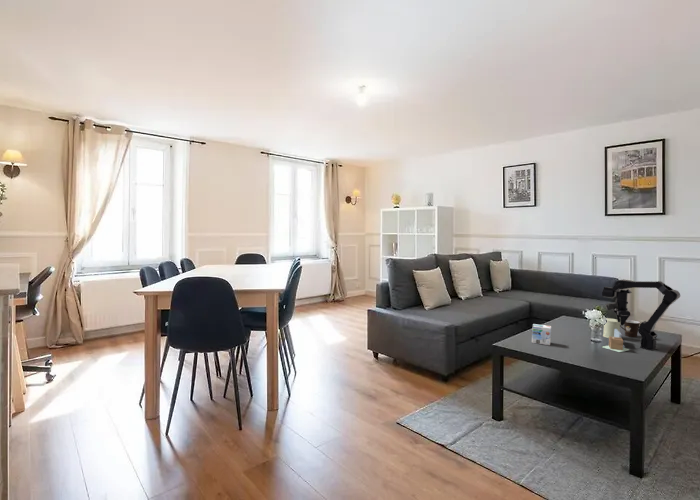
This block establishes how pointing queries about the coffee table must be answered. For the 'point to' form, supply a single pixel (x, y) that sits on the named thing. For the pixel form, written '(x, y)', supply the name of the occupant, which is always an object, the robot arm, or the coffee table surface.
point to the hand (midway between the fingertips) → (620, 323)
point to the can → (611, 327)
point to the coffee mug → (631, 328)
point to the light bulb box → (541, 334)
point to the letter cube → (616, 343)
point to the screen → (618, 335)
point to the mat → (616, 349)
